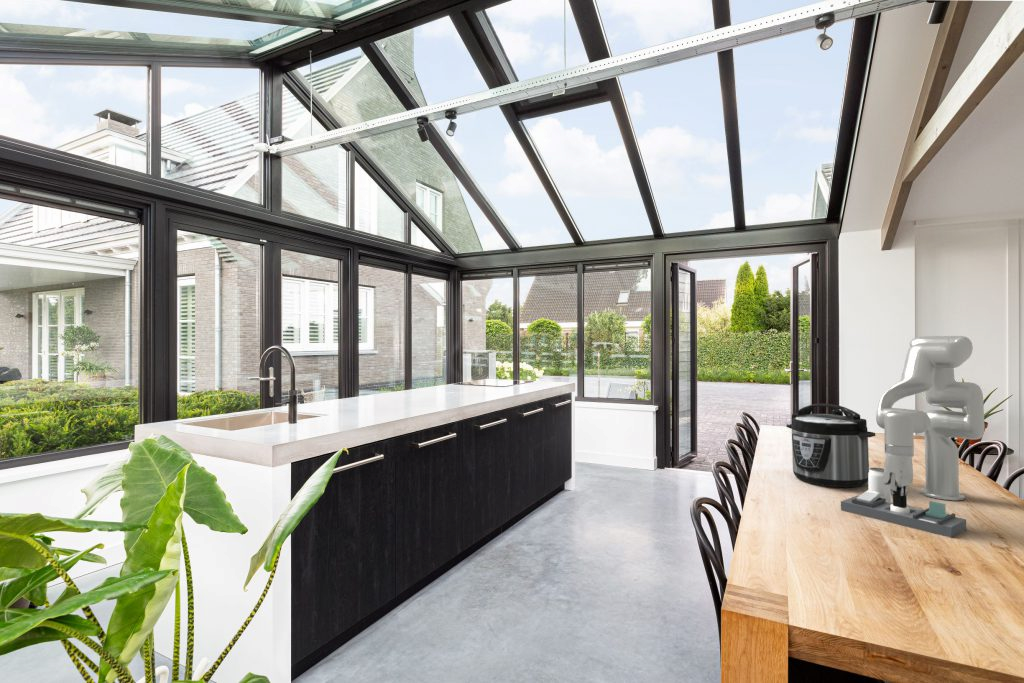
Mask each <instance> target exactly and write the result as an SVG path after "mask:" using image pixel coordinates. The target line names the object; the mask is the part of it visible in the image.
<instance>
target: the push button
mask: <svg viewBox="0 0 1024 683" xmlns="http://www.w3.org/2000/svg"><path fill="white" fill-rule="evenodd" d="M909 507H910V506H908V505H907V507H905V508H901V507H896V506H893V504H891V505H890V511H894V512H899V513H903V514H907V515H908V514H910V508H909Z"/></svg>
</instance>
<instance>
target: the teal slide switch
mask: <svg viewBox="0 0 1024 683" xmlns="http://www.w3.org/2000/svg"><path fill="white" fill-rule="evenodd" d="M928 504H929V505H928V508H929V511H927V512H925V515H928V516H933V517H937V518H941V519H942V518H944V517H946V516H948V515H950V513H946V512H947V511H946V503H944V502H943V503H942V502H938V501H933V500H930V501H928Z"/></svg>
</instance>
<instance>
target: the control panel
mask: <svg viewBox="0 0 1024 683" xmlns="http://www.w3.org/2000/svg"><path fill="white" fill-rule="evenodd" d="M859 496H860V495H855V496H852V497H850V498H846V499H843V500H841V501H840V510H841V511H843V512H845V513H846V512H847V513H851V514H855V515H859V516H863V517H868V518H871V519H876V520H880V521H883V522H887V523H890V524H891V523H892V524H895V525H898V526H902V527H908V528H911V529H915V530H919V531H922V532H928V533H931V534H936V535H940V536H943V537H947V538H951V539H952V538H953V537H955V536H956V535H959V534H960V533H962V532H963V531H964V532H965V530H967V519H966V518H961V517H958V516H957V517H956V513H954V512H952V513H951V514H950V513H949V514H950V515H948V516H946V517H944V518H942V519H941V518H937V517H933V516H928V515H925V512H927V511H929V507H927V508H924V509H921V508H916V507H913V506H908V507H909V508H910V514H908V515H907V514H903V513H899V512H894V511H890V505H891V504H893V502H891V503H890V502H886V499H884V498H878V499H877V500H875V501H874V502H873V503H867V502H862V501H858V500H857V499H856V498H857V497H859Z"/></svg>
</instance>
